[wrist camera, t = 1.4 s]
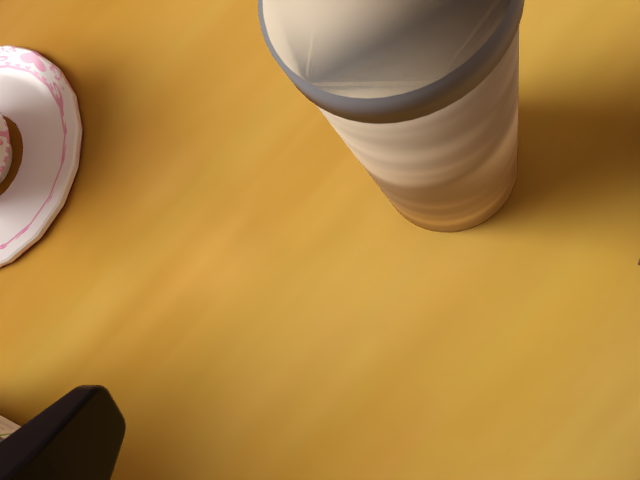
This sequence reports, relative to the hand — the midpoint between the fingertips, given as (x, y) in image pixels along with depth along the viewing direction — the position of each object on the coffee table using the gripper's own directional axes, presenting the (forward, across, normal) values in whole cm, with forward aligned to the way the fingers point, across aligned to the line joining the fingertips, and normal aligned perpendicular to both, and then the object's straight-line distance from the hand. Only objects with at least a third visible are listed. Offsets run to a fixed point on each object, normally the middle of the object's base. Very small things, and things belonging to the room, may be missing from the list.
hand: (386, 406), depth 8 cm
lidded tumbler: (+15, 0, +4) cm, 16 cm away
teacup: (+18, +23, +2) cm, 29 cm away
